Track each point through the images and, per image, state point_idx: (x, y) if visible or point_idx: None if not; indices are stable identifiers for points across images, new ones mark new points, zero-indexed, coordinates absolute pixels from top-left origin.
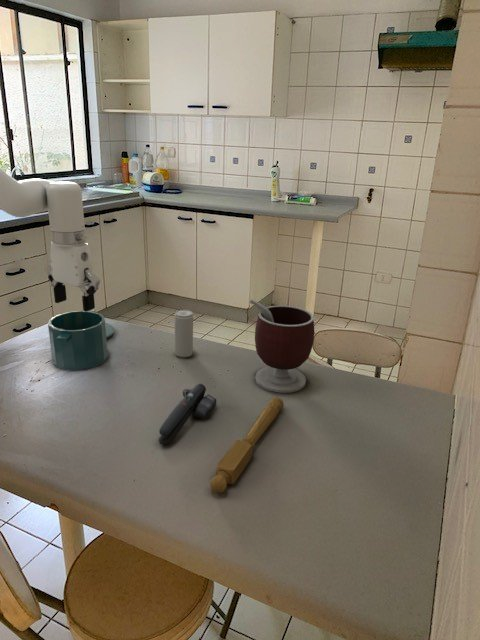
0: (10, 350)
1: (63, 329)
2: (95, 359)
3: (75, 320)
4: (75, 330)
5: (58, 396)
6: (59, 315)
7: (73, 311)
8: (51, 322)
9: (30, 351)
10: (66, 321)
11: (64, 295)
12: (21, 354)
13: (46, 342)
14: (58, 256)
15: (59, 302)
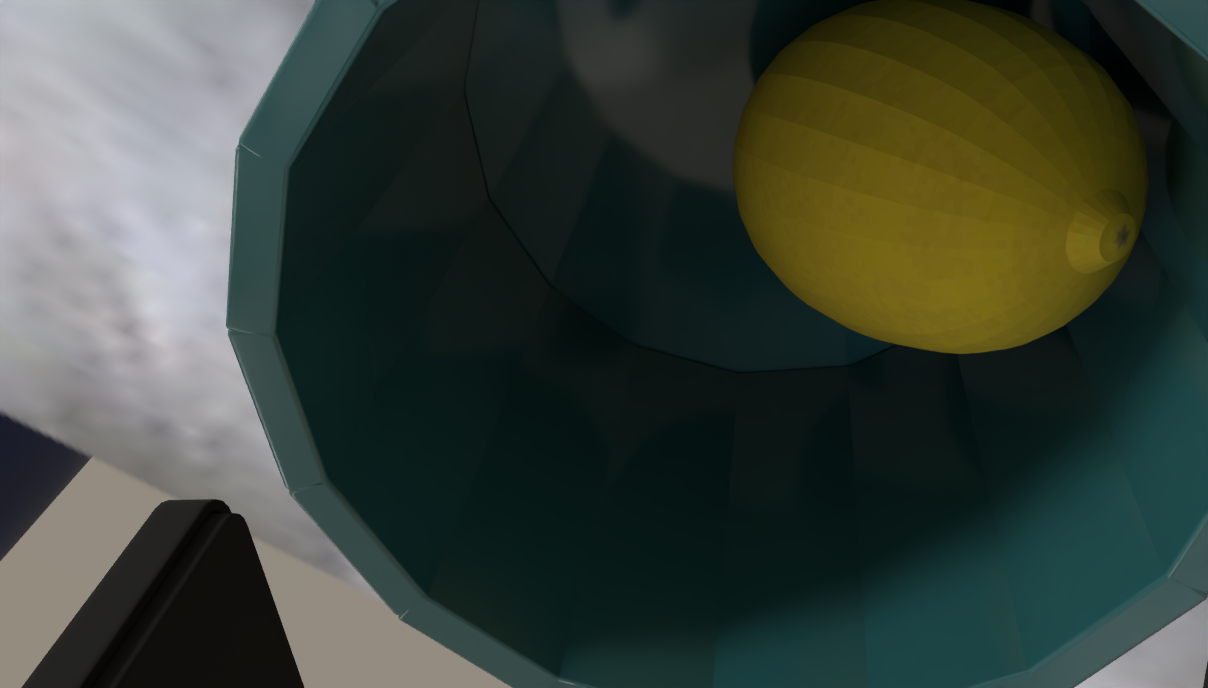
0: (74, 411)
1: (378, 224)
2: None
3: (375, 64)
4: (1093, 654)
5: (1200, 677)
6: (295, 404)
7: (267, 122)
8: (466, 609)
9: (213, 322)
10: (335, 214)
11: (196, 646)
12: (225, 406)
13: (87, 85)
14: None
15: (279, 652)
